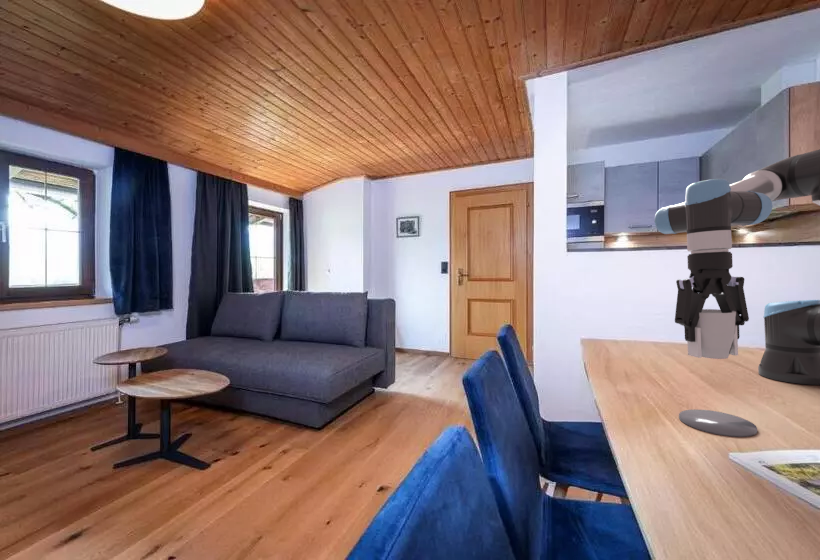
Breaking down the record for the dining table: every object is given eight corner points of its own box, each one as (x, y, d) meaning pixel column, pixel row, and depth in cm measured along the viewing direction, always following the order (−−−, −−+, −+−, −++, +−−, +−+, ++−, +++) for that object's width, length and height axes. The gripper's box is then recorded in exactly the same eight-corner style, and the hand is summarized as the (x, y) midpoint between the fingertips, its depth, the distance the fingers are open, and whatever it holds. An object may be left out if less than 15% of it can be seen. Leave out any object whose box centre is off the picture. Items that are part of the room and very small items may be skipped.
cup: (747, 360, 73) (745, 312, 73) (702, 360, 75) (700, 313, 75) (721, 352, 81) (720, 308, 81) (681, 352, 83) (680, 309, 83)
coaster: (716, 410, 85) (716, 407, 85) (775, 434, 72) (775, 431, 72) (664, 413, 84) (664, 411, 84) (715, 438, 71) (715, 436, 71)
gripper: (736, 251, 82) (739, 349, 82) (651, 254, 81) (655, 354, 81) (771, 248, 74) (774, 356, 75) (678, 252, 73) (682, 361, 74)
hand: (712, 354), depth 78 cm, fingers closed on cup, 8 cm apart
